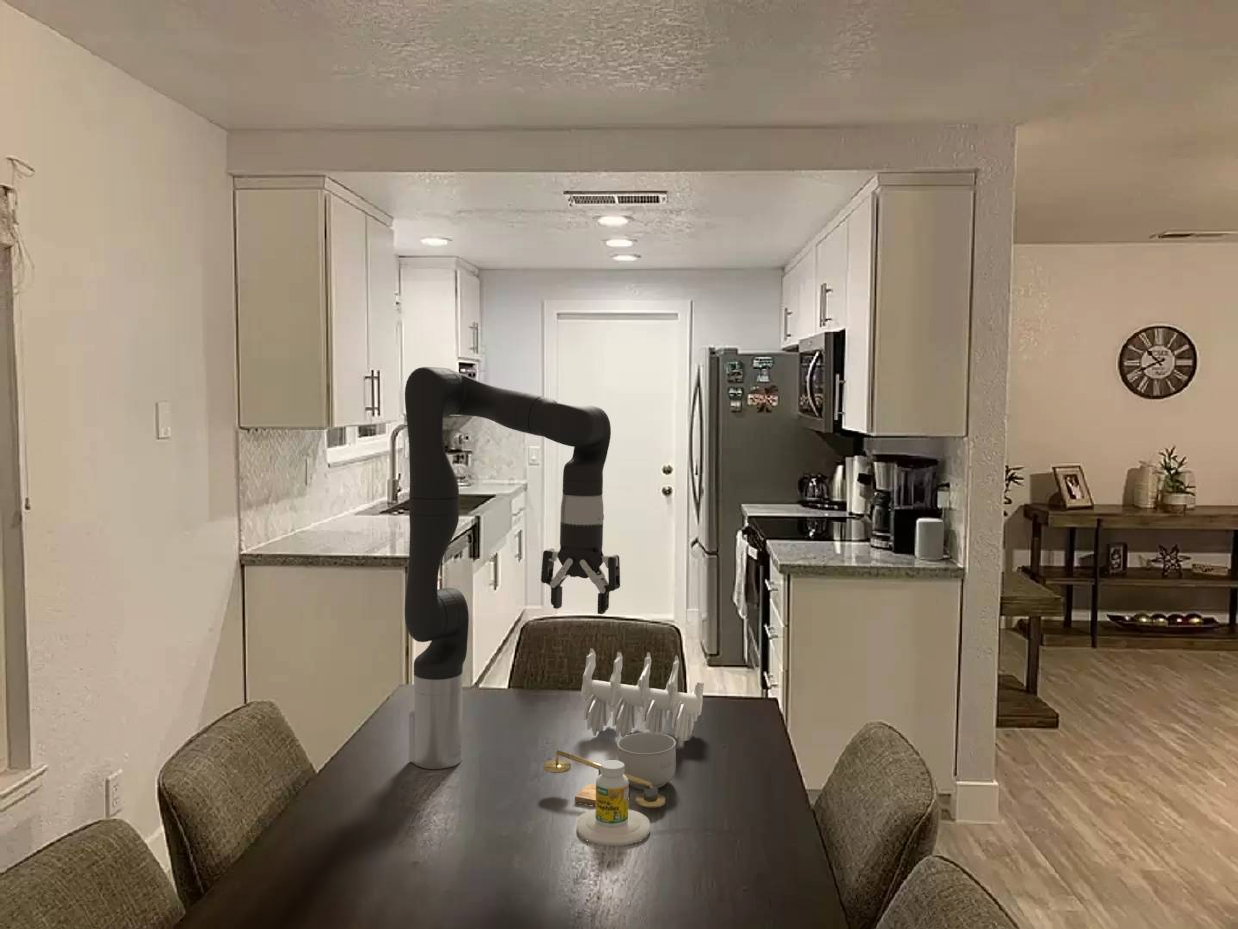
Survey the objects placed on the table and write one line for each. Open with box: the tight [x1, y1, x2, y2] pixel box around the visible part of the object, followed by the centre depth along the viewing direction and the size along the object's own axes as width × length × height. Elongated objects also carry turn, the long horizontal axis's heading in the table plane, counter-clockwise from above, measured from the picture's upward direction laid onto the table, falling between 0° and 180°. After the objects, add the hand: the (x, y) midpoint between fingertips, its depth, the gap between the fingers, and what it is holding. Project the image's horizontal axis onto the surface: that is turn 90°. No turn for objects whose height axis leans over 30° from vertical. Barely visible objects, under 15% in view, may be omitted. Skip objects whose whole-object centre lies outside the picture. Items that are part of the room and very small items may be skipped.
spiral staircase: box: [580, 647, 705, 746], centre depth 207 cm, size 18×18×25 cm
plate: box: [576, 808, 651, 847], centre depth 164 cm, size 12×12×1 cm
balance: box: [542, 749, 666, 809], centre depth 175 cm, size 23×6×8 cm, turn 69°
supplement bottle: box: [595, 759, 630, 827], centre depth 164 cm, size 5×5×10 cm
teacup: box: [616, 729, 677, 790], centre depth 185 cm, size 14×11×8 cm
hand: (579, 610), depth 177 cm, fingers open, 8 cm apart
